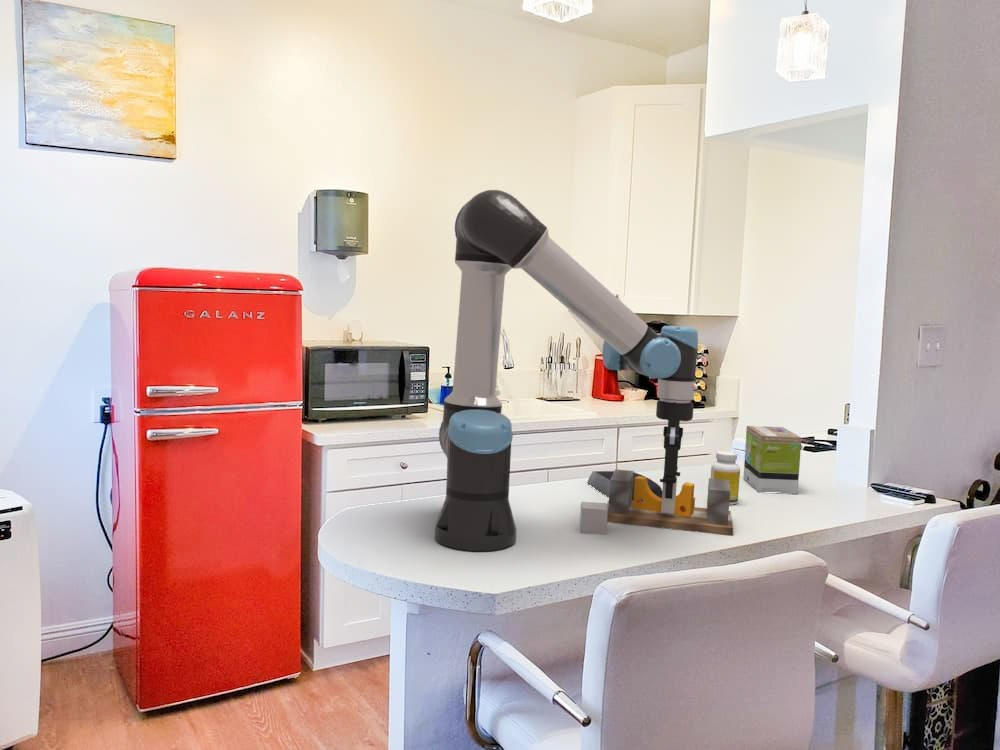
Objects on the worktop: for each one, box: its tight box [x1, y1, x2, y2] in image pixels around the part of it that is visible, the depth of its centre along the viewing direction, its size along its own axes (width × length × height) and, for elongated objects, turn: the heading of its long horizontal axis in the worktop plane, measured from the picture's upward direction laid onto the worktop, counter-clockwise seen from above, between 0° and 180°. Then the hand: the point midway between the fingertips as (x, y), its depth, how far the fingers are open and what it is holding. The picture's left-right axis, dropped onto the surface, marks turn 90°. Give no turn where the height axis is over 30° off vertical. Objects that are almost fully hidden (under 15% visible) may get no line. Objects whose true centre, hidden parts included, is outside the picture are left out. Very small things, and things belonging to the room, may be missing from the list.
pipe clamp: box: [633, 476, 696, 517], centre depth 168 cm, size 12×4×6 cm, turn 64°
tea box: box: [743, 425, 802, 495], centre depth 203 cm, size 15×10×15 cm, turn 178°
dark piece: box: [586, 470, 663, 502], centre depth 191 cm, size 13×19×4 cm
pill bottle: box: [710, 450, 741, 506], centre depth 185 cm, size 6×6×12 cm
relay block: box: [579, 501, 608, 535], centre depth 157 cm, size 5×5×5 cm
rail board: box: [606, 469, 734, 536], centre depth 167 cm, size 26×14×8 cm, turn 76°
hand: (668, 509), depth 168 cm, fingers closed on pipe clamp, 5 cm apart
